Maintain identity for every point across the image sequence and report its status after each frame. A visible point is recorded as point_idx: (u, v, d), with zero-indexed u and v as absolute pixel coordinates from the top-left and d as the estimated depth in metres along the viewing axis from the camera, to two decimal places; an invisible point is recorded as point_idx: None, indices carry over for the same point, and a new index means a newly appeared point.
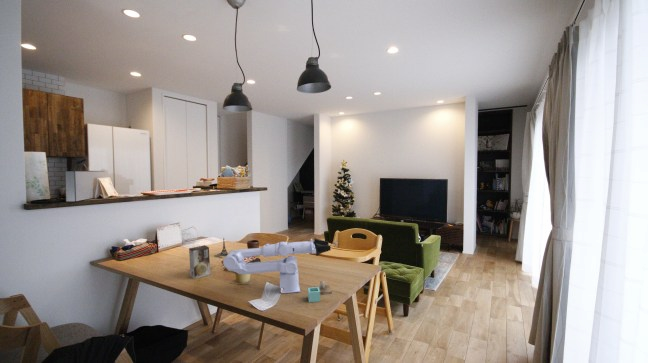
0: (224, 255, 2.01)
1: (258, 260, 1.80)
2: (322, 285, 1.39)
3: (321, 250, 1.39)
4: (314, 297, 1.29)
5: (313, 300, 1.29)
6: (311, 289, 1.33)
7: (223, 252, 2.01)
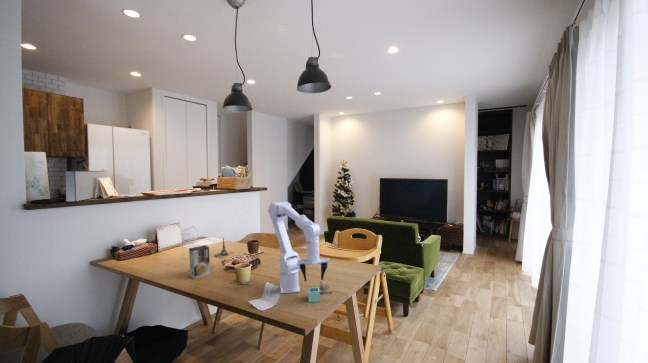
0: (224, 255, 2.01)
1: (258, 260, 1.80)
2: (322, 285, 1.39)
3: None
4: (314, 297, 1.29)
5: (313, 300, 1.29)
6: (311, 289, 1.33)
7: (223, 252, 2.01)
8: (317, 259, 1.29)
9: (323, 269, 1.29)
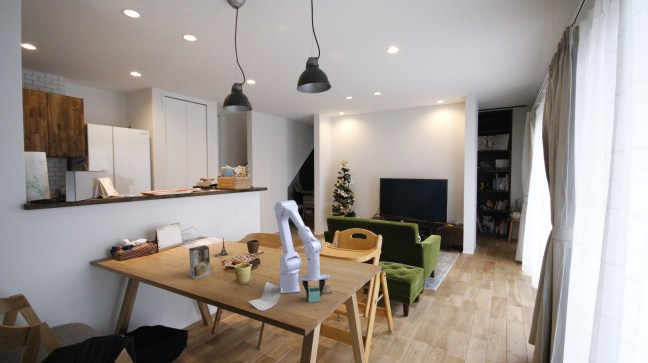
0: (223, 255, 2.01)
1: (258, 260, 1.80)
2: None
3: None
4: (314, 297, 1.29)
5: (313, 300, 1.29)
6: (311, 289, 1.33)
7: (223, 252, 2.01)
8: (317, 276, 1.29)
9: (321, 286, 1.29)
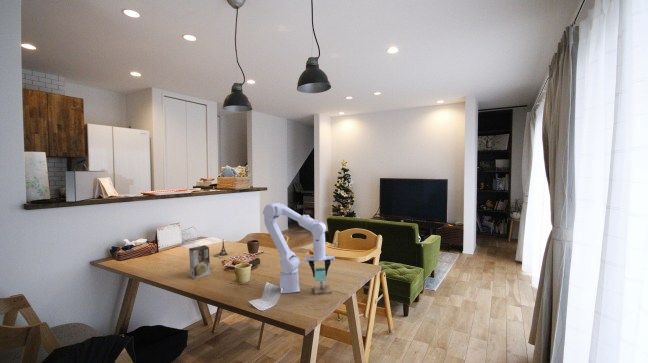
0: (223, 255, 2.01)
1: (258, 260, 1.80)
2: (322, 285, 1.39)
3: None
4: (320, 276, 1.35)
5: (319, 279, 1.35)
6: (317, 269, 1.39)
7: (222, 252, 2.01)
8: (323, 256, 1.35)
9: (327, 266, 1.35)
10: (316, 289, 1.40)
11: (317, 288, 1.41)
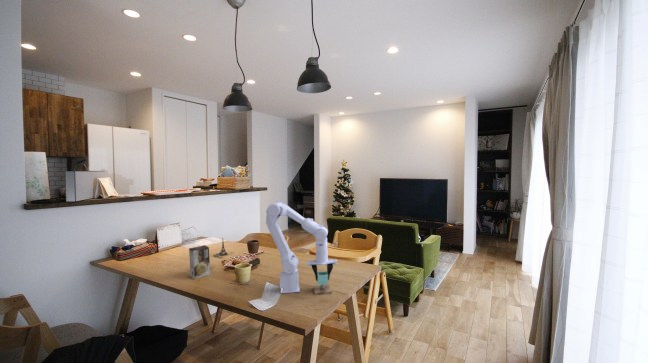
0: (223, 255, 2.01)
1: (257, 260, 1.80)
2: (322, 285, 1.39)
3: None
4: (323, 280, 1.38)
5: (322, 283, 1.38)
6: (320, 273, 1.42)
7: (222, 252, 2.01)
8: (326, 260, 1.38)
9: (329, 269, 1.38)
10: (316, 289, 1.40)
11: (317, 288, 1.41)
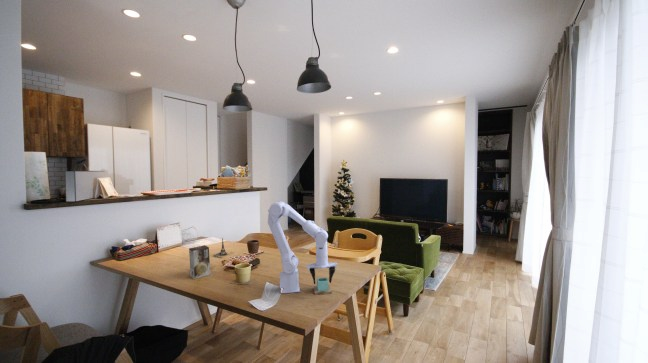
0: (223, 255, 2.01)
1: (257, 260, 1.80)
2: None
3: None
4: (323, 286, 1.38)
5: (322, 289, 1.38)
6: (320, 279, 1.42)
7: (222, 252, 2.01)
8: (326, 263, 1.38)
9: (331, 273, 1.39)
10: (316, 289, 1.40)
11: None
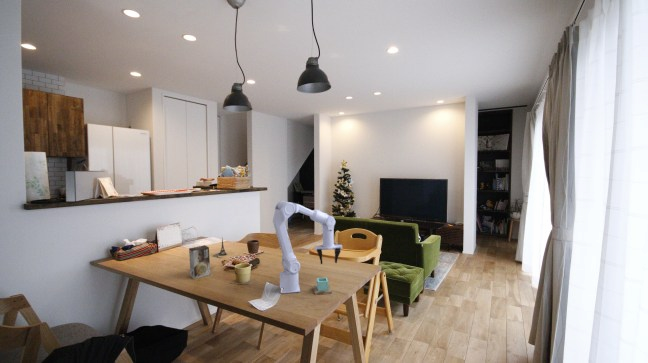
0: (222, 255, 2.01)
1: (257, 260, 1.81)
2: None
3: None
4: (323, 286, 1.38)
5: (322, 289, 1.38)
6: (320, 279, 1.42)
7: (221, 252, 2.01)
8: (332, 245, 1.50)
9: (337, 253, 1.51)
10: (316, 289, 1.40)
11: None
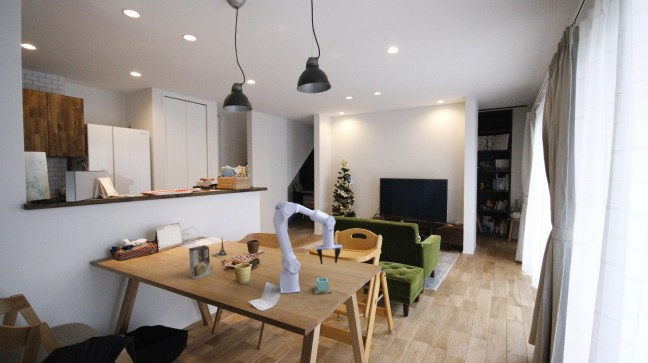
0: (222, 255, 2.01)
1: (257, 260, 1.81)
2: None
3: None
4: (323, 286, 1.38)
5: (322, 289, 1.38)
6: (320, 279, 1.42)
7: (221, 252, 2.01)
8: (332, 245, 1.50)
9: (337, 253, 1.51)
10: (316, 289, 1.40)
11: None
